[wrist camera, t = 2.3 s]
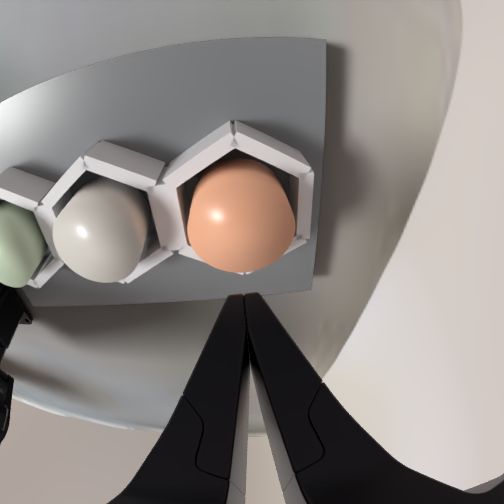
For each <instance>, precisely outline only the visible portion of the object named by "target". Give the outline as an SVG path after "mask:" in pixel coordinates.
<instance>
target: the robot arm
mask: <svg viewBox="0 0 504 504" xmlns="http://www.w3.org/2000/svg"><path fill="white" fill-rule="evenodd" d="M244 304H245V306H244ZM245 314H246V316H245ZM32 321H33V318H32V316H31V315H30V313H29V312H28V310H27V309H26V308H25V306H24V305H23V303H22V302H21V300H20V299H19V297H18V295H17V294H16V292H15V291H14V289H13V288H12V287H10V286H7V285H4V284H3V283H1V282H0V363H1V361H2V358H3V356H4V353H5V351H6V349H7V348H8V347H9V345H10V343H11V340H12V338H13V336H14V333H15V331H16V329H17V327H18V324H32ZM246 325H247V327H246ZM247 336H248V338H247ZM248 346H249V348H248ZM249 356H250V358H249ZM250 365H251V370H252V375H253V379H254V383H255V387H256V391H257V395H258V399H259V404H260V408H261V412H262V416H263V420H264V423H265V427H266V431H267V435H268V439H269V443H270V447H271V451H272V455H273V458H274V461H275V466H276V470H277V473H278V477H279V481H280V484H281V488H282V491H283V495H284V499H285V503H286V504H504V474H503V475H501V476H500V477H498V478H495V479H493V480H491V481H488V482H486V483H483V484H481V485H478V486H476V487H473V488H470V489H467V490H465V491H462V490H459V489H457V488H455V487H452V486H449V485H447V484H444V483H442V482H440V481H437V480H435V479H432V478H430V477H428V476H426V475H423V474H421V473H419V472H417V471H414V470H412V469H410V468H408V467H406V466H405V465H403V464H402V463H400V462H399V461H397V460H396V459H395V458H393V457H392V456H391V455H390V454H389V453H388V452H387V451H386V450H385V449H384V448H383V447H382V446H381V445H380V444H378V443H377V442H376V441H375V440H374V439H373V438H372V437H371V436H370V435H369V434H368V433H367V432H366V431H365V430H364V429H363V428H362V427H361V426H360V425H359V424H358V423H357V422H356V421H355V419H354V418H353V417H352V416H351V415H349V413H348V412H347V411H346V410H345V409H344V408H343V406H342V405H341V404H340V403H339V401H338V400H337V399H336V398H335V396H334V395H333V394H332V392H331V391H330V390H329V388H328V387H327V386H326V384H325V383H322V379H321V378H320V376H319V375H318V374H317V372H316V371H315V370H314V368H313V367H312V366H311V364H310V363H309V361H308V360H307V359H306V357H305V356H304V355H303V353H302V352H301V350H300V349H299V348H298V346H297V345H296V344H295V342H294V341H293V339H292V338H291V337H290V335H289V334H288V332H287V331H286V330H285V328H284V327H283V325H282V324H281V323H280V321H279V320H278V319H277V317H276V316H275V314H274V313H273V312H272V310H271V309H270V307H269V306H268V305H267V303H266V302H265V300H264V299H263V298H262V296H261V295H260V294H259V293H258V292H251V293H245V294H244V296H243V294H241V293H240V294H230V295H228V297H227V299H226V301H225V303H224V305H223V307H222V309H221V312H220V314H219V316H218V318H217V320H216V322H215V324H214V327H213V329H212V331H211V333H210V335H209V337H208V340H207V342H206V344H205V346H204V348H203V350H202V352H201V355H200V357H199V359H198V361H197V363H196V365H195V368H194V370H193V372H192V374H191V376H190V378H189V381H188V383H187V385H186V387H185V389H184V391H183V395H184V396H183V395H182V396H181V398H180V400H179V402H178V404H177V406H176V408H175V410H174V412H173V414H172V416H171V418H170V420H169V422H168V424H167V426H166V427H165V429H164V431H163V433H162V434H161V436H160V438H159V439H158V441H157V442H156V444H155V446H154V447H153V449H152V450H151V452H150V453H149V455H148V456H147V458H146V460H145V461H144V463H143V464H142V466H141V467H140V469H139V470H138V472H137V473H136V475H135V476H134V478H133V479H132V480H131V482H130V483H129V484H128V485H127V487H126V488H125V489H124V490H123V491H122V492H121V493H120V494H119V495H118V496H116V497H115V498H114V499H113V500H111V501H110V502H109V503H107V504H245V493H246V466H247V441H248V415H249V388H250ZM13 383H14V378H13V377H11V376H10V375H7V374H6V373H5V372H3V371H2V370H1V369H0V444H1V442H2V440H3V439H4V437H5V435H6V433H7V430H8V427H9V421H10V409H11V399H12V391H13Z"/></svg>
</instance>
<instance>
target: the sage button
mask: <svg viewBox="0 0 504 504" xmlns="http://www.w3.org/2000/svg"><path fill="white" fill-rule="evenodd" d="M48 248H49V246H48V244H47V242H46V240H45V238H44V235H43V233H42V231H41V228H40V226H39V224H38V221H37V219H36V217H35V214H34V212H33V211H30V210H28V209H25V208H23V207H20V206H18V205H15V204H13V203H11V202H8V201H6V200H4V201H3V202H2V203H1V204H0V282H1V283H3V284H4V285H7V286H10V287H15V288H18V287H23V286H25V285H26V284H27V283H28V282H29V280H30V278H31V277H32V275H33V273H34V272H35V270H36V268H37V267H38V265H39V263H40V262H41V260H42V258H43V257H44V255H45V254H46V252H47V250H48Z"/></svg>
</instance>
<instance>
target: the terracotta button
mask: <svg viewBox="0 0 504 504" xmlns="http://www.w3.org/2000/svg"><path fill="white" fill-rule="evenodd" d="M187 232H188V238H189V242H190V244H191V246H192V248H193V250H194V251H195V253H196V254H197V255H198V256H199V257H200V258H201V259H202V260H203V261H204V262H206V263H207V264H209V265H211V266H212V267H214V268H217V269H220V270H223V271H227V272H235V273H244V272H252V271H256V270H259V269H262V268H265V267H267V266H269V265H271V264H272V263H274V262H275V261H277V260H278V259H279V258H280V257H281V256H282V255H283V254H284V253H285V252H286V251H287V250H288V248H289V246H290V245H291V242H292V240H293V237H294V234H295V219H294V215H293V212H292V209H291V207H290V204H289V202H288V199H287V196H286V194H285V191H284V189H283V186H282V184H281V182H280V180H279V178H278V177H277V175H276V174H275V173H274V172H273V171H272V170H271V169H270V168H269V167H267V166H266V165H264V164H262V163H260V162H258V161H255V160H251V159H245V158H234V159H228V160H225V161H222V162H219V163H217V164H215V165H213V166H212V167H210V168H209V169H208V170H207V171H206V172H205V173H204V174H203V175H202V176H201V177H200V179H199V180H198V182H197V184H196V186H195V189H194V193H193V198H192V203H191V209H190V214H189V220H188V227H187Z"/></svg>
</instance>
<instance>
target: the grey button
mask: <svg viewBox="0 0 504 504" xmlns="http://www.w3.org/2000/svg"><path fill="white" fill-rule="evenodd" d="M150 225H151V213H150V209H149V205H148V203H147V201H146V199H145V198H144V196H143V195H142V194H141V192H140V191H139V190H138V189H137V188H135V187H133V186H130V185H127V184H124V183H122V182H119V181H116V180H113V179H110V178H108V177H105V176H102V177H97V178H94V179H91V180H89V181H88V182H86V183H85V184H84V185H83V186H82V187H81V188H80V189H79V190H78V191H77V193H76V194H75V195H74V196H73V197H72V199H71V200H70V201H69V202H68V204H67V205H66V206H65V207H64V209H63V210H62V211H61V212H60V214H59V215H58V216H57V218H56V220H55V222H54V226H53V241H54V245H55V248H56V250H57V252H58V254H59V256H60V257H61V259H62V260H63V261H64V263H65V264H66V265H67V266H68V267H69V268H70V269H72V270H73V271H74V272H75V273H77V274H79V275H80V276H82V277H84V278H87V279H89V280H92V281H96V282H103V283H111V282H117V281H120V280H123V279H125V278H126V277H128V276H129V275H130V274H132V272H133V271H134V270H135V268H136V267H137V265H138V262H139V259H140V256H141V253H142V250H143V247H144V244H145V241H146V238H147V235H148V232H149V229H150Z"/></svg>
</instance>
